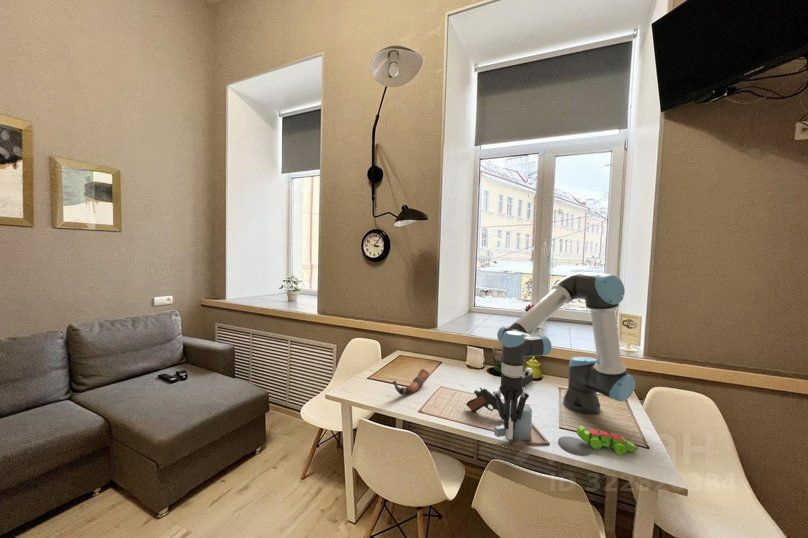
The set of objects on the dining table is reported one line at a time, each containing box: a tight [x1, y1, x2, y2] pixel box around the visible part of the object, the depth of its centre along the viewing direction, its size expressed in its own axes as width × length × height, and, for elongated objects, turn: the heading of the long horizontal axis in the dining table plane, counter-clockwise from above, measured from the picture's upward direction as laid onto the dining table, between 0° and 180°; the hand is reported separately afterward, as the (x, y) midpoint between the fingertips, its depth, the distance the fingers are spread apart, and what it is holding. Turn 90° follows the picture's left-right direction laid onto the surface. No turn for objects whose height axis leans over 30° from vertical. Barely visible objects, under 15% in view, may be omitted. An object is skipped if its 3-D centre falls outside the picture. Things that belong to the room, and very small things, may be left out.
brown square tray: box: [498, 422, 550, 447], centre depth 124 cm, size 14×14×1 cm
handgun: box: [465, 387, 504, 413], centre depth 138 cm, size 2×19×12 cm, turn 62°
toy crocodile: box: [576, 425, 639, 456], centre depth 117 cm, size 20×7×6 cm, turn 76°
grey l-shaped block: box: [493, 403, 533, 441], centre depth 121 cm, size 15×8×11 cm, turn 109°
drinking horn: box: [392, 368, 430, 396], centre depth 159 cm, size 5×29×10 cm, turn 144°
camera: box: [522, 367, 534, 388], centre depth 175 cm, size 16×9×10 cm, turn 132°
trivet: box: [557, 435, 593, 456], centre depth 117 cm, size 11×11×1 cm
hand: (509, 437), depth 117 cm, fingers closed
